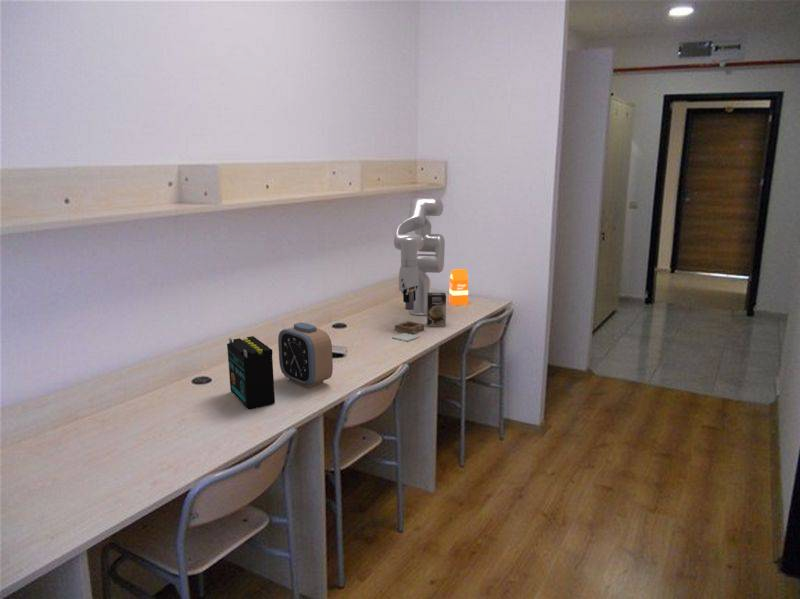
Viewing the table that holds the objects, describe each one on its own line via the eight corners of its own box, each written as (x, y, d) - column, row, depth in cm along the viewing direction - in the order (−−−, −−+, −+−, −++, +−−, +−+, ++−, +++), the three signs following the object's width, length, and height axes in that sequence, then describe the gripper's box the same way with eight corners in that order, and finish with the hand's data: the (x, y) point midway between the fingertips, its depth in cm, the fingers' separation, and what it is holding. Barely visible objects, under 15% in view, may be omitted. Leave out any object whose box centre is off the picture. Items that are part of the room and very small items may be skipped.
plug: (408, 307, 294) (408, 286, 291) (415, 308, 291) (415, 288, 289) (403, 309, 291) (402, 288, 288) (410, 310, 288) (410, 289, 286)
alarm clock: (279, 378, 231) (276, 323, 226) (300, 372, 238) (297, 318, 233) (312, 392, 217) (309, 333, 212) (333, 385, 223) (331, 328, 219)
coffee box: (427, 327, 299) (427, 295, 295) (426, 323, 305) (426, 292, 302) (446, 327, 299) (446, 294, 296) (444, 323, 306) (444, 291, 302)
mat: (404, 334, 288) (404, 332, 288) (419, 337, 282) (419, 336, 282) (392, 338, 281) (392, 337, 281) (407, 341, 276) (407, 340, 275)
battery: (230, 391, 218) (226, 338, 214) (256, 386, 223) (253, 333, 219) (247, 410, 202) (243, 352, 198) (275, 403, 207) (272, 347, 203)
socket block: (408, 327, 300) (407, 321, 299) (424, 330, 294) (424, 324, 293) (394, 331, 292) (394, 325, 292) (411, 335, 286) (411, 328, 285)
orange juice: (449, 303, 349) (449, 268, 344) (464, 302, 350) (464, 267, 346) (452, 306, 341) (453, 270, 337) (468, 305, 343) (468, 270, 338)
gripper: (414, 259, 294) (414, 296, 299) (391, 265, 282) (391, 303, 286) (426, 261, 289) (426, 299, 294) (403, 267, 277) (404, 306, 282)
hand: (409, 301), depth 290 cm, fingers closed on plug, 4 cm apart
